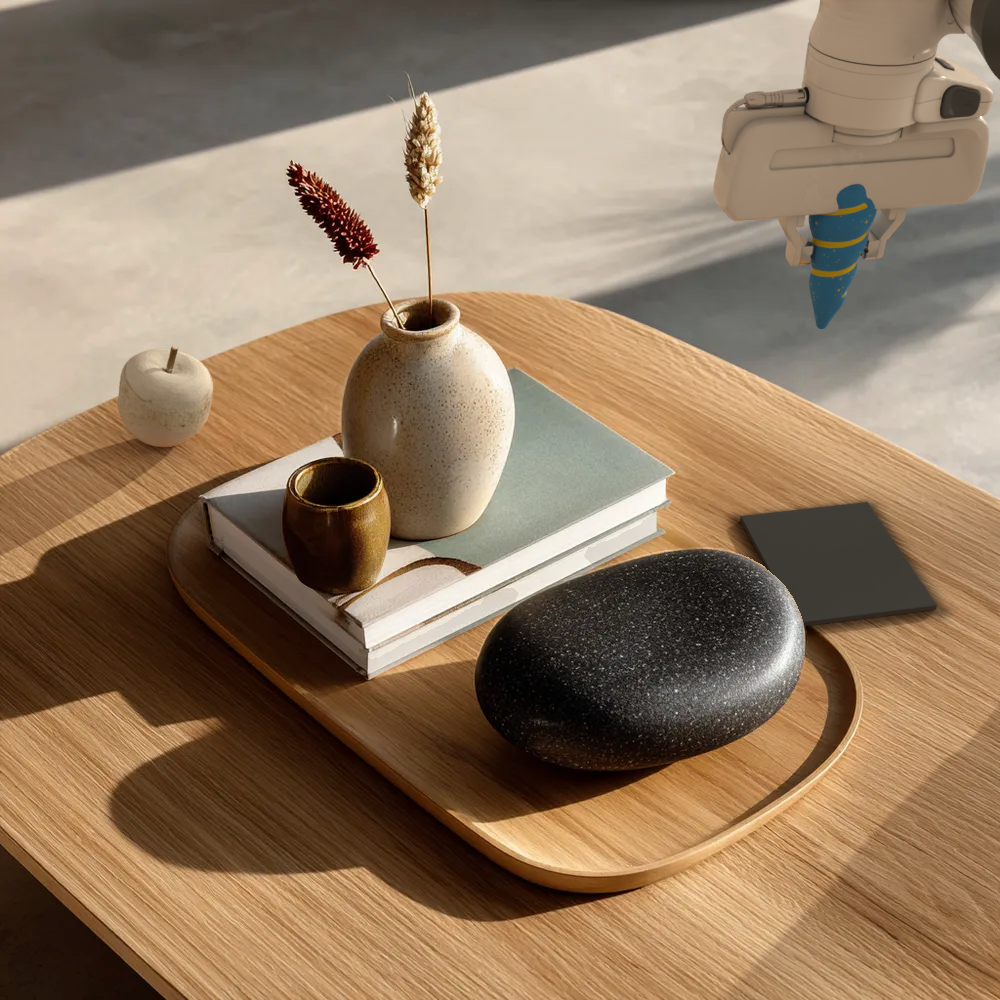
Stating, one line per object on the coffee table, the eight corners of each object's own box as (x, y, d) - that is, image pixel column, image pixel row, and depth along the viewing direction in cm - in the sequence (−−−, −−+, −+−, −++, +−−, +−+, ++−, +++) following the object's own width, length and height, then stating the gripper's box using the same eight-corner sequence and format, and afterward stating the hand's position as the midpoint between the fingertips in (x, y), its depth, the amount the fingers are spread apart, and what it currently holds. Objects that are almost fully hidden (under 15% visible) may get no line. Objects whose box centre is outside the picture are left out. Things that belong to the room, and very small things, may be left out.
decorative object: (108, 435, 126) (90, 344, 120) (189, 402, 131) (175, 313, 125) (155, 478, 121) (138, 385, 115) (237, 442, 126) (226, 351, 120)
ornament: (786, 338, 106) (814, 160, 97) (791, 307, 110) (818, 133, 101) (852, 347, 105) (887, 167, 96) (854, 315, 109) (888, 140, 100)
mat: (866, 505, 120) (867, 501, 119) (936, 609, 109) (937, 605, 108) (739, 520, 118) (740, 515, 117) (797, 627, 107) (798, 622, 107)
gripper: (740, 110, 92) (719, 289, 100) (1015, 92, 95) (972, 267, 103) (712, 78, 96) (693, 251, 105) (974, 61, 100) (936, 230, 108)
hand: (833, 259), depth 104 cm, fingers closed on ornament, 4 cm apart
